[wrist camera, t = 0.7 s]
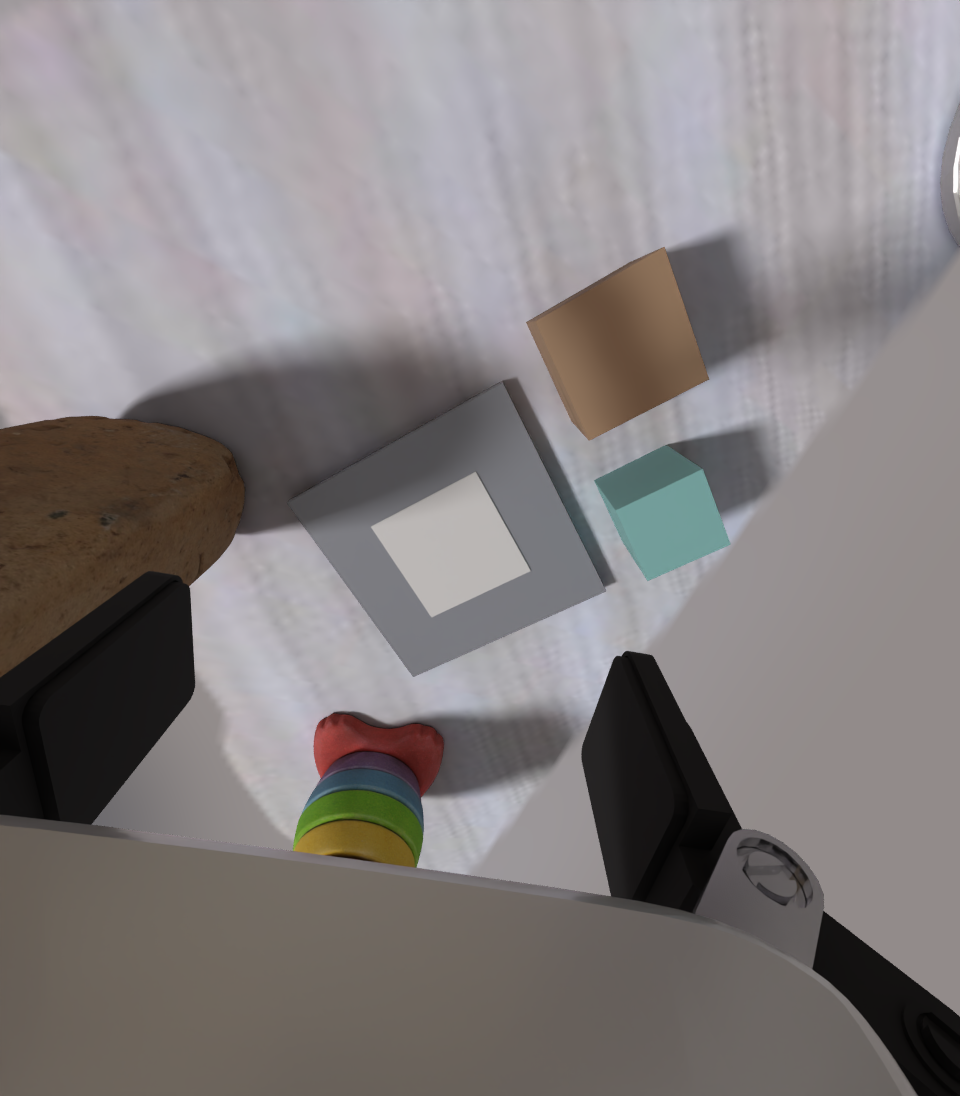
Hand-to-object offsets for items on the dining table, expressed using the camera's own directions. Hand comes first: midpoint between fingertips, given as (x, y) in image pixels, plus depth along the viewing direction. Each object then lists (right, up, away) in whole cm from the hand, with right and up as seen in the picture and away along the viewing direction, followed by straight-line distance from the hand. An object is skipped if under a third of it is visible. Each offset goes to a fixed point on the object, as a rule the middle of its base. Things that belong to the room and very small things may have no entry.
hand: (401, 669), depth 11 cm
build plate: (0, +3, +24) cm, 24 cm away
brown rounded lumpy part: (-19, +8, +23) cm, 30 cm away
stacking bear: (-7, -16, +33) cm, 37 cm away
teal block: (+13, +6, +23) cm, 27 cm away
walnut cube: (+9, +15, +19) cm, 26 cm away
